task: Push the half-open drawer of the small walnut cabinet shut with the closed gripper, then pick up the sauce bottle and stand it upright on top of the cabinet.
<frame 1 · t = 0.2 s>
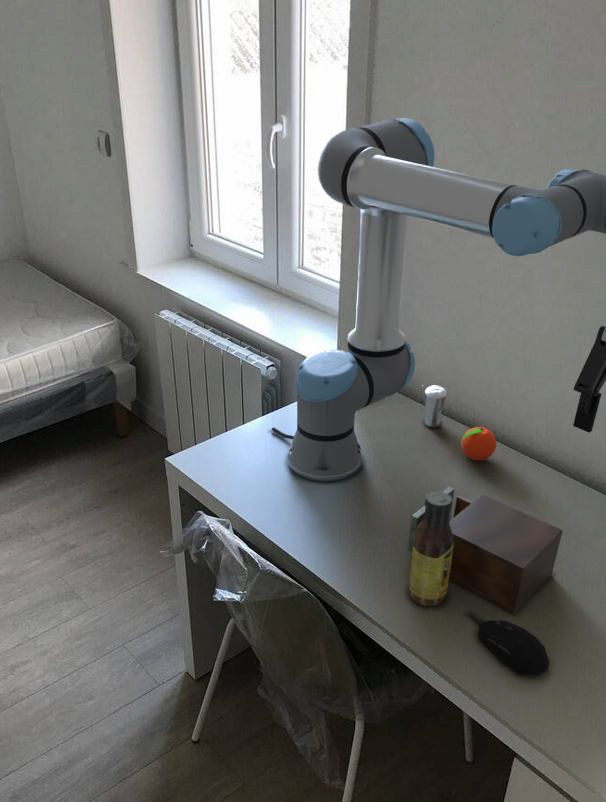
gaming mouse: (504, 645, 121), on the table
clementine: (474, 458, 163), on the table
salt shaker: (430, 424, 175), on the table
cabinet: (492, 573, 134), on the table
drawer: (458, 532, 136), point 5 cm above the table, slide at 5.0 cm
sauce bottle: (426, 595, 130), on the table
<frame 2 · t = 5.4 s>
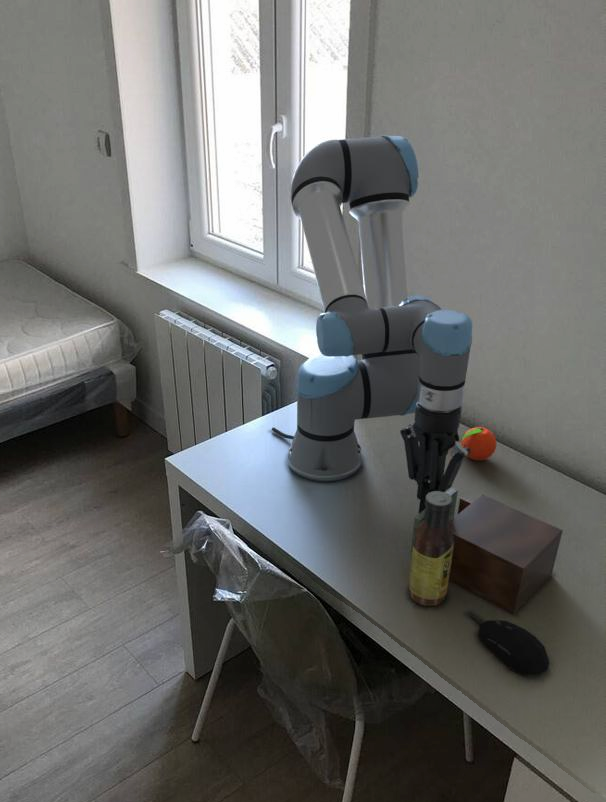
hand: (425, 515, 144), 3 cm above the table, tool pointing down, fingers closed
drawer: (462, 534, 135), point 5 cm above the table, slide at 4.3 cm, touching gripper
everything else where it was.
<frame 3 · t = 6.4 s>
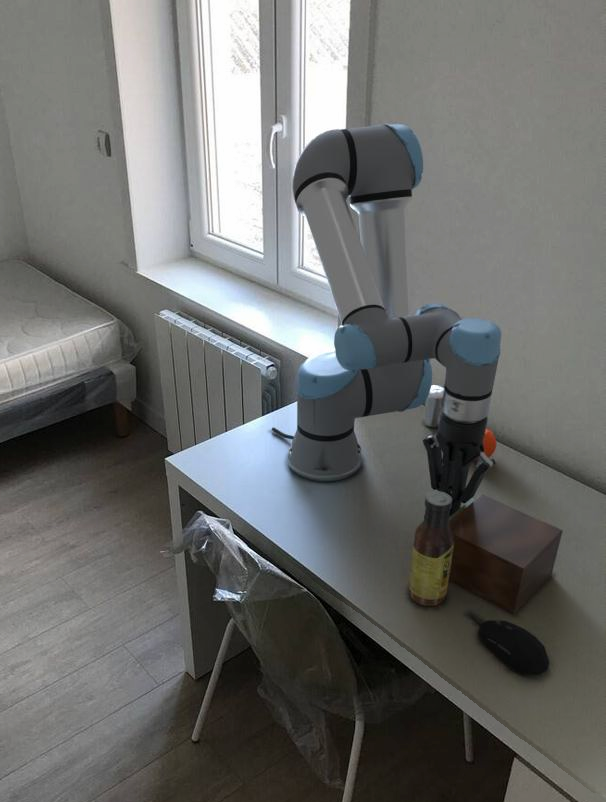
hand: (446, 525, 141), 3 cm above the table, tool pointing down, fingers closed
drawer: (484, 545, 133), point 5 cm above the table, slide at 0.0 cm, touching cabinet, gripper
everything else where it was.
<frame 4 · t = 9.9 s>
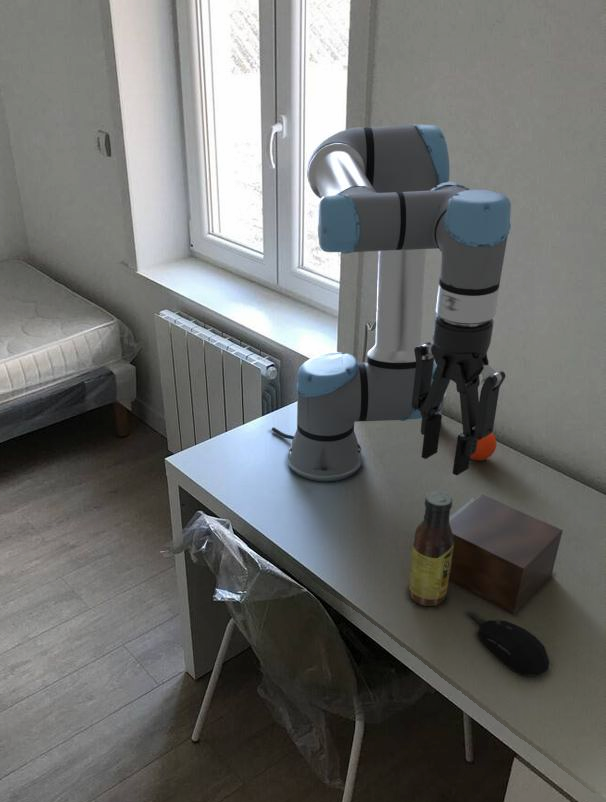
hand: (444, 462, 115), 27 cm above the table, tool pointing down, fingers open, 5 cm apart
drawer: (484, 545, 133), point 5 cm above the table, slide at 0.0 cm
everything else where it was.
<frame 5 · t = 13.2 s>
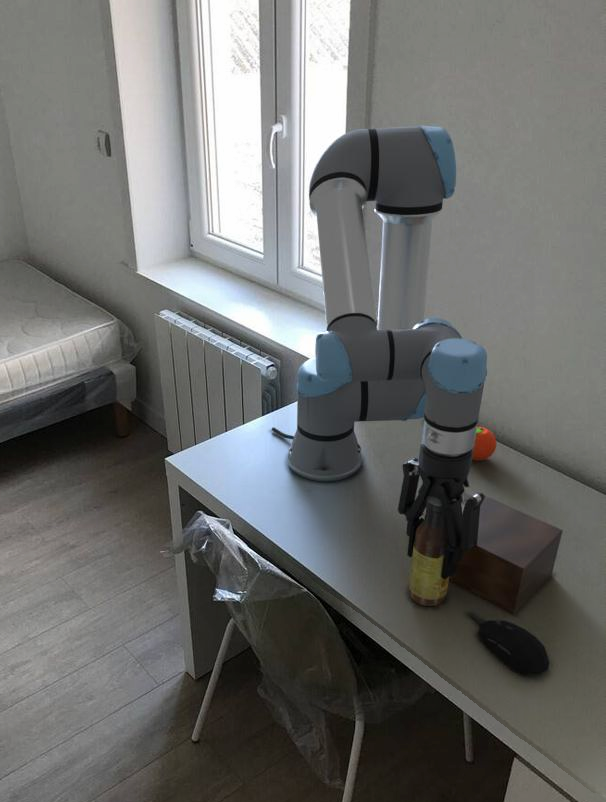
hand: (431, 563, 126), 7 cm above the table, tool pointing down, fingers closed on sauce bottle, 6 cm apart
sauce bottle: (426, 595, 130), on the table, touching gripper
everything else where it was.
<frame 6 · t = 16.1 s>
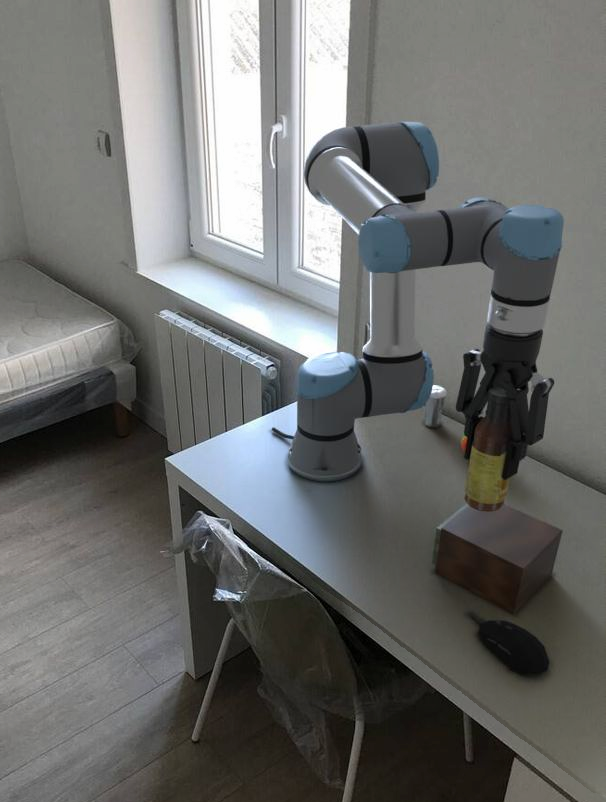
hand: (490, 465, 119), 24 cm above the table, tool pointing down, fingers closed on sauce bottle, 6 cm apart
sauce bottle: (483, 502, 123), point 17 cm above the table, touching gripper
everything else where it was.
when the fingers open (17 cm above the table, at t = 19.0 s): sauce bottle stays where it is, resting on cabinet.
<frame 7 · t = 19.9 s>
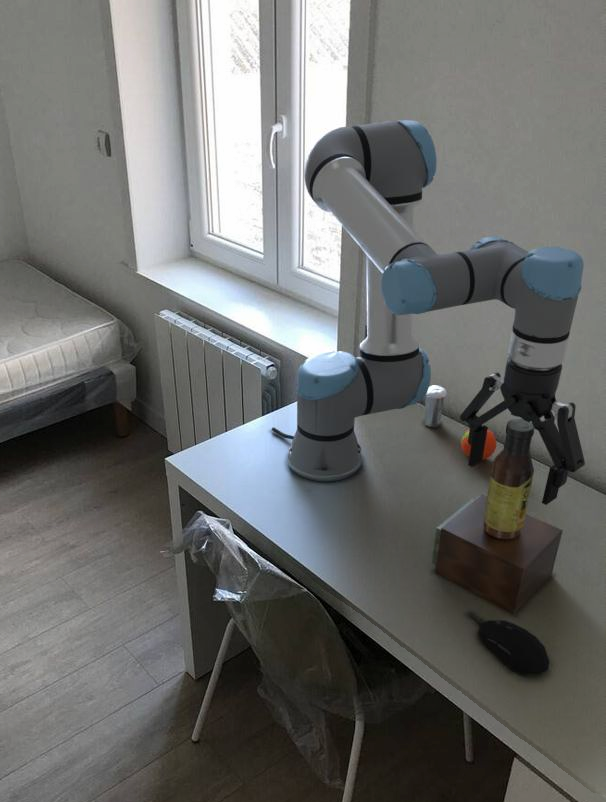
hand: (510, 481, 123), 19 cm above the table, tool pointing down, fingers open, 13 cm apart
sauce bottle: (501, 530, 128), point 10 cm above the table, touching cabinet
everything else where it was.
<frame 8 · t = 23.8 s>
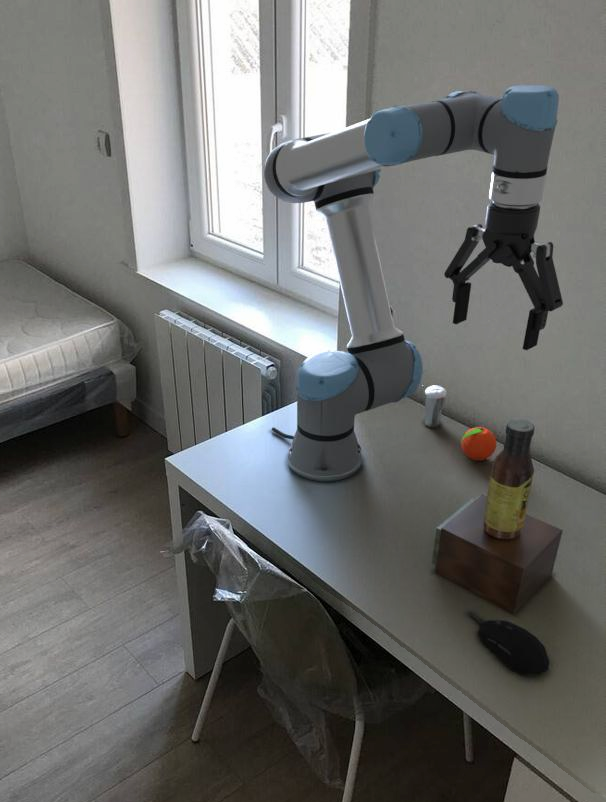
hand: (493, 334, 128), 37 cm above the table, tool pointing down, fingers open, 13 cm apart
nothing on the table moved.
at the end: drawer slide at 0.0 cm; sauce bottle inside the target area on the cabinet (0.0 cm from its centre), point 9.6 cm above the cabinet's base; sauce bottle tilted 0° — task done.
